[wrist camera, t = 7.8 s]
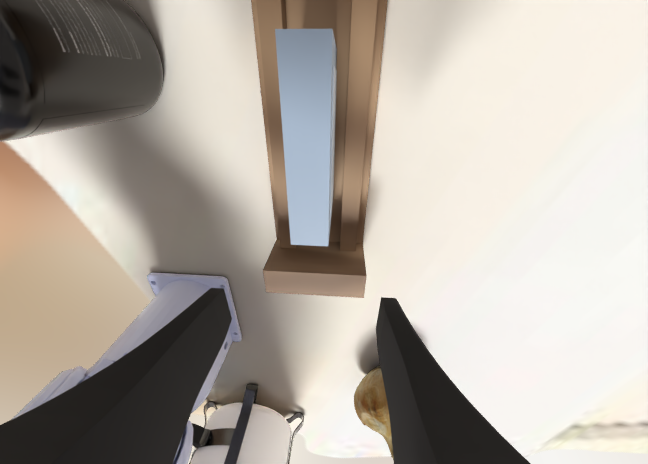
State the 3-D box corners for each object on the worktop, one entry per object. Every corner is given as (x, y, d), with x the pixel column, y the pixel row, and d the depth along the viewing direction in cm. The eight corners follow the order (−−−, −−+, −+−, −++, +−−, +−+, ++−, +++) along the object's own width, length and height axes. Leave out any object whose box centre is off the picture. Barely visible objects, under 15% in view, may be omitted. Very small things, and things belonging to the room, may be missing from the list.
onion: (432, 364, 29) (460, 451, 22) (392, 394, 33) (405, 476, 26) (377, 342, 28) (388, 427, 21) (342, 375, 31) (342, 456, 25)
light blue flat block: (333, 201, 18) (329, 246, 13) (305, 200, 18) (289, 244, 13) (337, 50, 14) (333, 28, 9) (300, 50, 14) (273, 28, 9)
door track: (359, 256, 22) (363, 297, 17) (281, 252, 22) (266, 292, 18) (394, -91, 12) (423, -194, 7) (247, -86, 12) (194, -181, 8)
